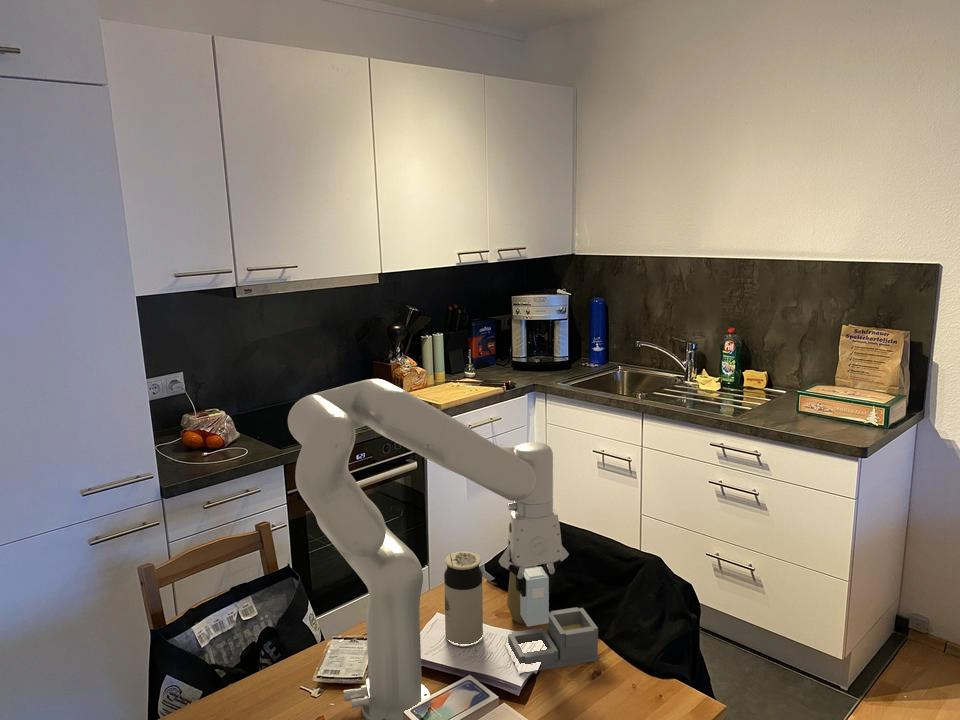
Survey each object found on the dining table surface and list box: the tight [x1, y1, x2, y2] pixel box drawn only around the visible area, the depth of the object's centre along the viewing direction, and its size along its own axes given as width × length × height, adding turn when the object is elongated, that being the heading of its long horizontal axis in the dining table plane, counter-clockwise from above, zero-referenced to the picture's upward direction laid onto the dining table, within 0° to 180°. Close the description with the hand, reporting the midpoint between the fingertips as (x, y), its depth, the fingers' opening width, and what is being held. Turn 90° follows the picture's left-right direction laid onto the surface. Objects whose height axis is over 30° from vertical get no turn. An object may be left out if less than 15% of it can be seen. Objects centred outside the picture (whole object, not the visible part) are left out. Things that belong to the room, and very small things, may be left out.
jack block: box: [507, 606, 600, 672], centre depth 145 cm, size 17×10×6 cm, turn 104°
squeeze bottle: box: [506, 565, 539, 625], centre depth 157 cm, size 8×8×18 cm
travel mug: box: [443, 550, 484, 644], centre depth 150 cm, size 8×8×18 cm
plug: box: [520, 566, 550, 627], centre depth 143 cm, size 4×5×10 cm
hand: (534, 590), depth 142 cm, fingers closed on plug, 4 cm apart
